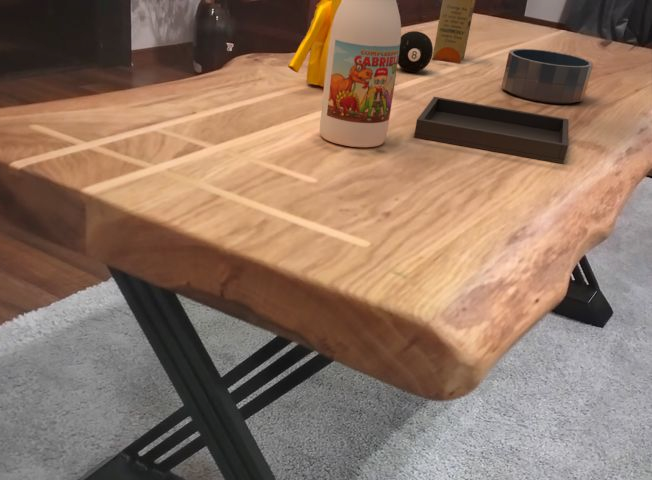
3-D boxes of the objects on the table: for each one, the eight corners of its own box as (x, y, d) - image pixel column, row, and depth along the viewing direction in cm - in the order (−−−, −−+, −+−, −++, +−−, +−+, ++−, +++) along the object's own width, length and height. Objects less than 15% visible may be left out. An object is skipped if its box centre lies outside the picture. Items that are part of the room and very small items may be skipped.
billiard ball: (428, 69, 128) (434, 30, 125) (429, 77, 123) (436, 37, 120) (392, 65, 128) (398, 26, 125) (392, 72, 123) (398, 32, 120)
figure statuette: (336, 72, 119) (355, -92, 107) (382, 83, 116) (406, -85, 104) (274, 90, 105) (288, -96, 94) (324, 102, 102) (345, -89, 91)
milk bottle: (304, 134, 89) (324, -63, 78) (349, 125, 93) (374, -61, 83) (354, 153, 84) (382, -53, 74) (399, 143, 89) (431, -51, 79)
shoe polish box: (432, 58, 137) (445, -16, 130) (436, 54, 141) (449, -18, 134) (459, 63, 135) (474, -12, 129) (463, 59, 140) (478, -14, 133)
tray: (564, 135, 100) (568, 119, 98) (563, 163, 88) (568, 145, 87) (431, 112, 103) (434, 96, 102) (413, 137, 92) (416, 119, 91)
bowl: (582, 93, 124) (592, 57, 121) (582, 110, 113) (593, 71, 110) (504, 80, 126) (512, 45, 123) (497, 96, 116) (506, 57, 113)
